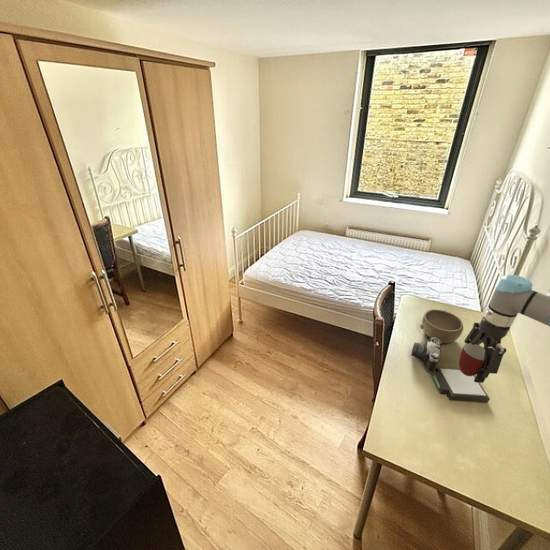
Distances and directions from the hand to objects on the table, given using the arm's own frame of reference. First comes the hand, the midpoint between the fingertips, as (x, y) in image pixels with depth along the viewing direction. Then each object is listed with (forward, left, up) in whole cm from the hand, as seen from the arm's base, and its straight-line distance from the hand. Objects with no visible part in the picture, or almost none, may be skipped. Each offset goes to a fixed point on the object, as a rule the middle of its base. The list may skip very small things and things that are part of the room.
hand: (471, 371), depth 103 cm
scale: (+7, -3, -15) cm, 17 cm away
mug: (0, 0, -1) cm, 1 cm away
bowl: (+38, -8, -15) cm, 41 cm away
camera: (+21, +5, -15) cm, 26 cm away
